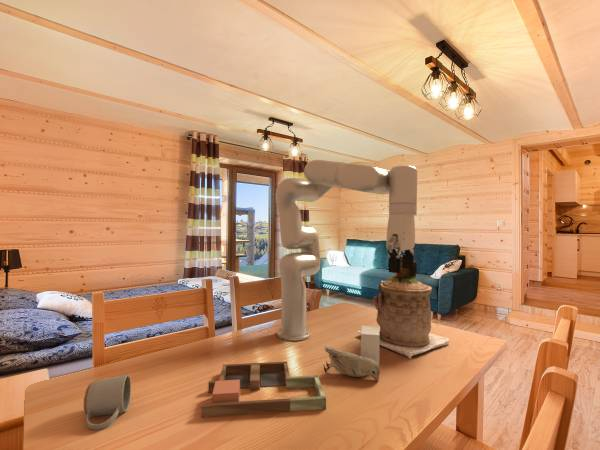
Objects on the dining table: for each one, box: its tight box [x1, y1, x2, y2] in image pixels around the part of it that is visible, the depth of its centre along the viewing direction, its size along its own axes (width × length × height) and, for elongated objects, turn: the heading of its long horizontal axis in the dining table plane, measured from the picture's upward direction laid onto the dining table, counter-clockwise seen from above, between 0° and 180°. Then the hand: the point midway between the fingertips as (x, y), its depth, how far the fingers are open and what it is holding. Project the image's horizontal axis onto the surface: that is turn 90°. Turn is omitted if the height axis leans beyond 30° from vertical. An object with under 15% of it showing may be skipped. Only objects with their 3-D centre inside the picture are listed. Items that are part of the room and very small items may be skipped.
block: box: [211, 379, 241, 403], centre depth 76 cm, size 6×6×4 cm
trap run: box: [200, 361, 327, 418], centre depth 82 cm, size 20×28×2 cm
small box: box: [360, 325, 381, 367], centre depth 97 cm, size 8×6×10 cm
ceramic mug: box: [83, 374, 132, 431], centre depth 70 cm, size 11×8×8 cm
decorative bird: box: [323, 346, 381, 382], centre depth 90 cm, size 5×16×8 cm, turn 70°
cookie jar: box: [357, 255, 450, 359], centre depth 116 cm, size 25×25×32 cm
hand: (401, 270), depth 89 cm, fingers open, 9 cm apart
